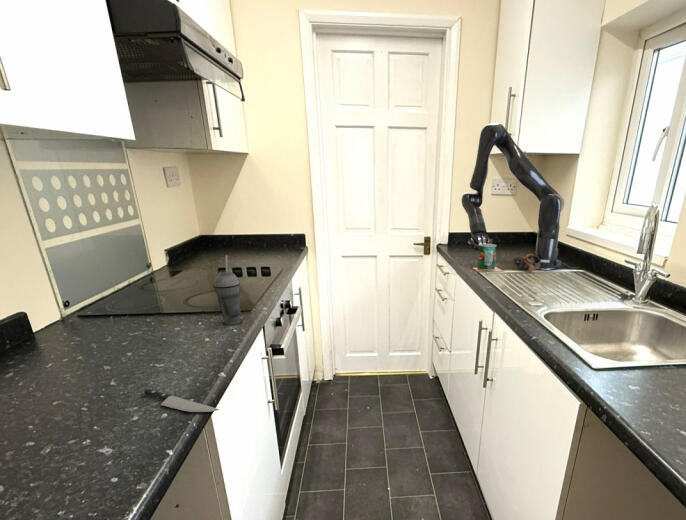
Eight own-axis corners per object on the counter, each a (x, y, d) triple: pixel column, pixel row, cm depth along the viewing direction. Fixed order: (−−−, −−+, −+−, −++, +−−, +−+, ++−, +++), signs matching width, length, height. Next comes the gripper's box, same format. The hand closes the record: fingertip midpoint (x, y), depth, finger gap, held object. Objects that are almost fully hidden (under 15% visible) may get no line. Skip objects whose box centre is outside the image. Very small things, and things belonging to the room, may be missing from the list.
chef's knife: (208, 420, 75) (220, 410, 77) (207, 414, 74) (219, 405, 77) (134, 399, 81) (148, 391, 84) (133, 394, 81) (146, 386, 83)
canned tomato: (498, 269, 192) (500, 245, 187) (485, 271, 188) (487, 246, 184) (486, 266, 198) (488, 243, 194) (474, 267, 194) (475, 244, 190)
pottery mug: (533, 268, 196) (541, 254, 190) (535, 281, 190) (544, 267, 184) (509, 262, 195) (517, 248, 188) (510, 274, 188) (519, 260, 182)
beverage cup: (220, 319, 126) (208, 254, 118) (245, 317, 128) (235, 252, 120) (219, 327, 119) (207, 258, 112) (245, 324, 122) (235, 257, 114)
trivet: (496, 267, 197) (496, 266, 197) (503, 271, 188) (503, 270, 188) (472, 267, 195) (472, 267, 195) (478, 272, 187) (478, 271, 187)
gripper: (466, 222, 197) (472, 252, 191) (492, 221, 199) (499, 251, 193) (462, 231, 204) (468, 261, 198) (488, 231, 206) (494, 260, 200)
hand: (483, 256), depth 195 cm, fingers closed
